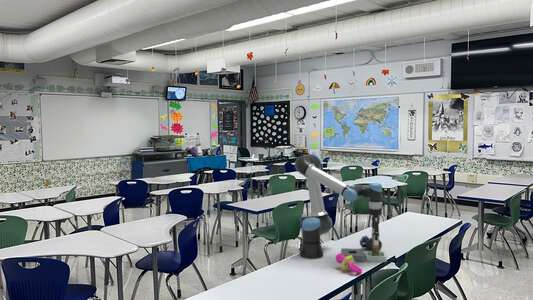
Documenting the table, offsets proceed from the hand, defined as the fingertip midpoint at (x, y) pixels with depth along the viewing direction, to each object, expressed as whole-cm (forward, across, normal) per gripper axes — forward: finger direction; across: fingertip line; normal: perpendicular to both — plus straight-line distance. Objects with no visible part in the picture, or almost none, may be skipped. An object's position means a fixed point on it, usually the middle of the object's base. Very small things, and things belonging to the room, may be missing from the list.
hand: (375, 241), depth 258 cm
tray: (+11, 0, 0) cm, 11 cm away
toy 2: (+11, +17, +1) cm, 21 cm away
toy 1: (+11, -22, +17) cm, 30 cm away
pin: (+10, 0, 0) cm, 10 cm away
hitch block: (+11, 0, +14) cm, 17 cm away
